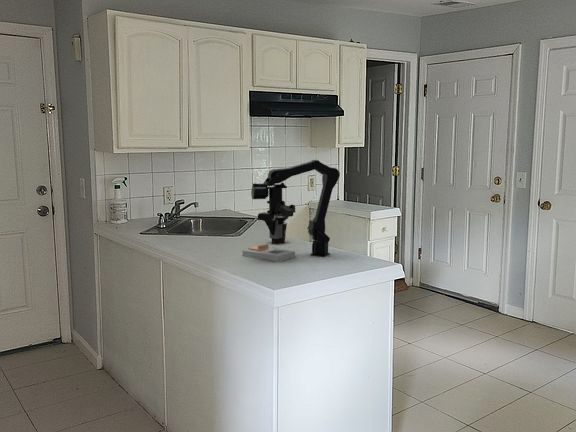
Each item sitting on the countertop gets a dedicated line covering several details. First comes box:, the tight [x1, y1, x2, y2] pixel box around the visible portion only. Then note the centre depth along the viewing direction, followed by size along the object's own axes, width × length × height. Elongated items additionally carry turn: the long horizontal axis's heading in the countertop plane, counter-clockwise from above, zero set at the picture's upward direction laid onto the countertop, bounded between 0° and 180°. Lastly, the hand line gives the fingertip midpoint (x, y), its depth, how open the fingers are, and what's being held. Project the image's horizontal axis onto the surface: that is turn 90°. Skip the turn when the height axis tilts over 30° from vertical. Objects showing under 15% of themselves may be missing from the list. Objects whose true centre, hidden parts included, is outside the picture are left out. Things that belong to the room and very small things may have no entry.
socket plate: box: [241, 246, 296, 263], centre depth 245 cm, size 20×12×2 cm, turn 54°
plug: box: [269, 220, 282, 239], centre depth 242 cm, size 4×4×8 cm
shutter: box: [247, 243, 269, 251], centre depth 248 cm, size 6×6×2 cm
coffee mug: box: [270, 221, 288, 245], centre depth 274 cm, size 12×9×10 cm
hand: (275, 234), depth 242 cm, fingers closed on plug, 4 cm apart
